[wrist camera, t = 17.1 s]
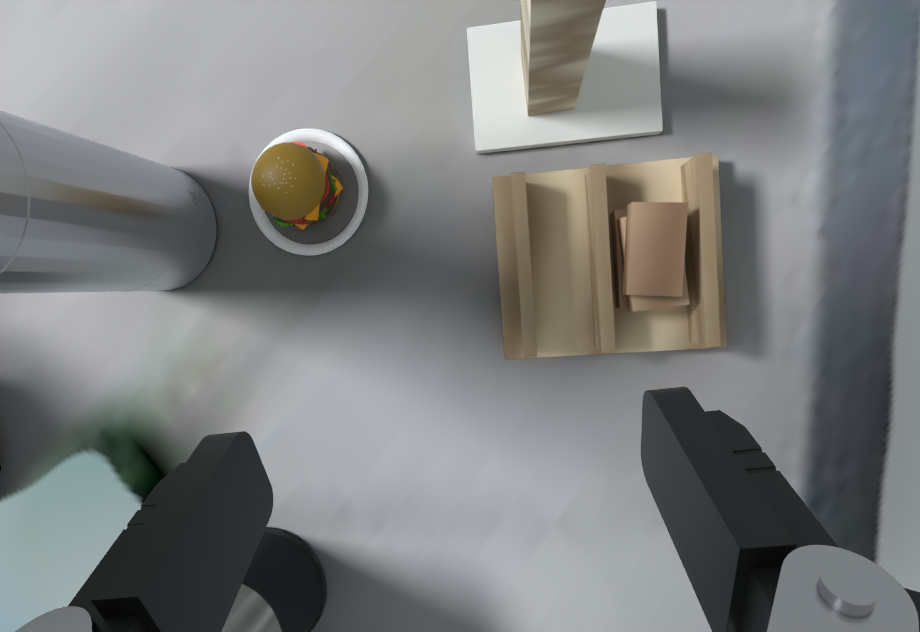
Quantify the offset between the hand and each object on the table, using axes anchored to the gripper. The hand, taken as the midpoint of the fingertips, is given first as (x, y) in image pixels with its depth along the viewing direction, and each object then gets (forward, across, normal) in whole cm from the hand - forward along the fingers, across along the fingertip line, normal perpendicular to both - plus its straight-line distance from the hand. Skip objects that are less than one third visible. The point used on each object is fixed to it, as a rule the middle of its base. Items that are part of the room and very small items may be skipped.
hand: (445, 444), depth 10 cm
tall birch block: (+28, -7, -5) cm, 29 cm away
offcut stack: (+22, -11, +6) cm, 26 cm away
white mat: (+29, -8, -5) cm, 30 cm away
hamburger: (+29, +11, 0) cm, 31 cm away
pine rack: (+24, -9, +6) cm, 26 cm away
